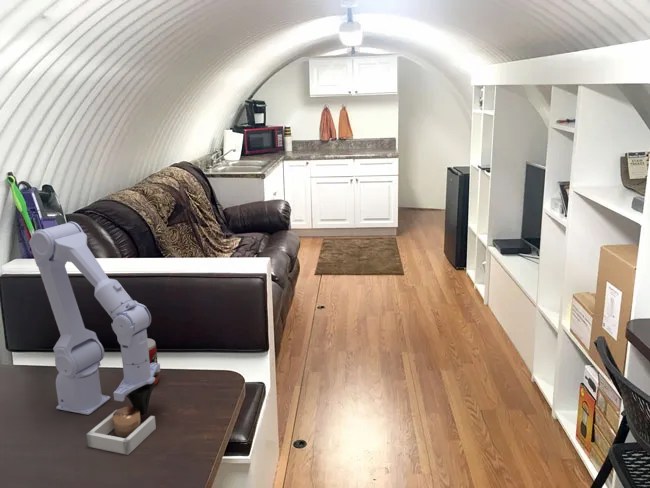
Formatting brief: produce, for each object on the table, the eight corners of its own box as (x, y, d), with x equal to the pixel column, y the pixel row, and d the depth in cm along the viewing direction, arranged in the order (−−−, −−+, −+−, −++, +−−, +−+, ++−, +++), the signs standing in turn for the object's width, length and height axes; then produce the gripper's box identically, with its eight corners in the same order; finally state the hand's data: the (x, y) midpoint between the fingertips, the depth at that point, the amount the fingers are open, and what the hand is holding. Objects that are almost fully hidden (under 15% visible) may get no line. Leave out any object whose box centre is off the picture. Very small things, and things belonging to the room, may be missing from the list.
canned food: (150, 391, 142) (146, 351, 139) (121, 389, 144) (116, 349, 141) (164, 377, 149) (161, 338, 147) (137, 374, 151) (132, 336, 148)
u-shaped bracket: (87, 446, 120) (86, 434, 119) (118, 421, 129) (116, 409, 129) (128, 454, 117) (126, 442, 117) (155, 428, 126) (154, 416, 126)
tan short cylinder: (110, 435, 124) (108, 419, 123) (122, 421, 129) (120, 405, 128) (134, 437, 123) (132, 421, 122) (145, 422, 129) (143, 407, 128)
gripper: (131, 376, 118) (137, 434, 122) (169, 347, 131) (174, 400, 135) (102, 372, 120) (109, 428, 124) (143, 344, 134) (148, 395, 137)
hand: (141, 413), depth 129 cm, fingers closed
